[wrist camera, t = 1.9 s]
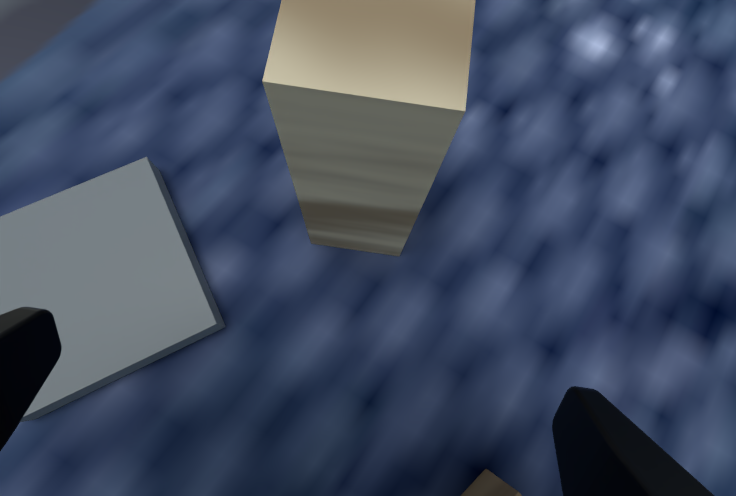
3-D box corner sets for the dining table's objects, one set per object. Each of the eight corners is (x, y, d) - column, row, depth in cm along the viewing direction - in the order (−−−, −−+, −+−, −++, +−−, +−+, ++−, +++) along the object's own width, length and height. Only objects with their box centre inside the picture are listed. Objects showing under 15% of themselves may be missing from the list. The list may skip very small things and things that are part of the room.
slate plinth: (225, 326, 21) (216, 323, 19) (34, 419, 19) (9, 423, 18) (159, 170, 23) (146, 156, 21) (-19, 244, 21) (-46, 235, 20)
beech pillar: (399, 256, 22) (465, 111, 10) (311, 243, 22) (262, 81, 10) (409, 175, 23) (479, -48, 11) (325, 162, 23) (299, -75, 11)
